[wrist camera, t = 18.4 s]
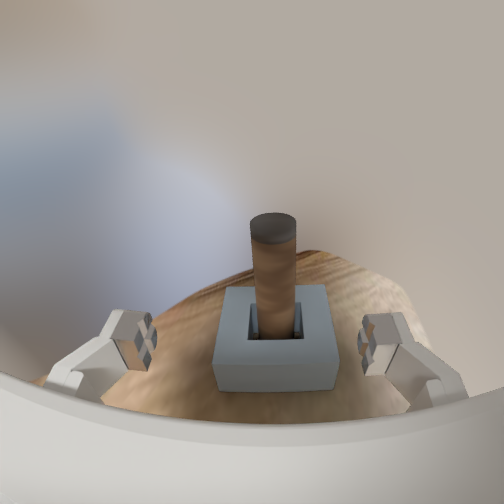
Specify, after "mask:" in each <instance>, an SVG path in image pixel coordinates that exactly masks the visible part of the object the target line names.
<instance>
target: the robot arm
mask: <svg viewBox="0 0 504 504" xmlns="http://www.w3.org/2000/svg"><path fill="white" fill-rule="evenodd" d="M151 322H152V317H151V314H150V313H148V312H141V311H131V310H119V309H115V310H113V311H112V313H111V315H110V316H109V318H108V320H107V322H106V324H105V326H104V327H103V329H102V331H101V333H100V335H99V337H94V338H93V339H91V340H90V341H89V342H87V343H85V344H84V345H83V346H81V347H80V348H78V349H77V350H75V351H74V352H72V353H71V354H69V355H68V356H66V357H65V358H63V359H62V360H60V361H59V362H58V363H56V364H55V365H54V366H53V368H52V370H51V372H50V374H49V376H48V378H47V380H46V381H45V383H44V385H43V387H41V386H38V385H36V384H33V383H30V382H27V381H25V380H22V379H19V378H17V377H14V376H12V375H9V374H7V373H4V372H2V371H0V504H504V387H502V388H499V389H496V390H493V391H490V392H487V393H484V394H480V395H477V396H474V397H470V398H469V396H468V394H467V391H466V389H465V386H464V384H463V382H462V379H461V377H460V374H459V373H458V372H457V371H455V370H454V369H453V368H451V367H450V366H449V365H448V364H446V363H445V362H444V361H442V360H441V359H440V358H439V357H437V356H436V355H435V354H433V353H432V352H431V351H429V350H428V349H427V348H426V347H424V346H423V345H422V344H420V343H419V342H415V341H414V338H413V336H412V334H411V331H410V329H409V327H408V324H407V322H406V320H405V318H404V315H403V314H402V313H401V312H397V313H384V314H367V315H365V316H364V317H363V320H362V324H363V328H362V329H360V331H359V334H358V350H359V354H360V355H362V356H363V360H362V362H361V363H362V367H363V371H364V375H365V376H373V375H385V376H386V378H387V379H388V380H389V381H390V382H391V383H392V384H393V385H394V386H395V387H396V389H397V390H398V391H399V392H400V393H401V394H402V395H403V396H404V397H405V398H406V399H407V401H408V402H409V403H410V404H411V406H410V407H409V408H408V410H407V411H406V413H401V414H395V415H388V416H382V417H375V418H367V419H358V420H349V421H338V422H324V423H305V424H246V423H226V422H212V421H201V420H191V419H183V418H175V417H168V416H161V415H155V414H149V413H143V412H137V411H132V410H127V409H122V408H117V407H113V406H108V405H105V404H104V402H103V401H102V400H101V398H100V397H101V396H102V395H103V394H104V393H105V392H106V391H107V390H108V389H110V388H111V387H112V386H113V385H114V384H115V383H116V382H117V381H118V380H119V379H120V378H121V377H122V376H123V375H124V374H125V373H126V372H127V371H128V369H129V370H137V371H148V368H149V365H150V362H151V359H152V358H151V356H150V353H152V352H153V351H154V350H155V348H156V345H157V332H156V329H155V327H154V326H153V325H152V324H151Z"/></svg>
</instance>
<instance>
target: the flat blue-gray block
mask: <svg viewBox="0 0 504 504" xmlns="http://www.w3.org/2000/svg"><path fill="white" fill-rule="evenodd" d="M294 332H299V335H300V339H291V340H253V333H258V322H257V309H256V296H255V286H253V287H226V292H225V297H224V302H223V307H222V312H221V318H220V323H219V328H218V333H217V338H216V343H215V349H214V354H213V359H212V367H213V371H214V375H215V378H216V382H217V385H218V389H219V391H224V392H300V391H319V390H333V389H334V385H335V381H336V377H337V372H338V368H339V364H340V359H339V353H338V348H337V343H336V337H335V332H334V327H333V322H332V317H331V312H330V308H329V303H328V298H327V294H326V289H325V285H324V284H322V285H295V321H294Z"/></svg>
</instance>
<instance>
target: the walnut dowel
mask: <svg viewBox="0 0 504 504" xmlns="http://www.w3.org/2000/svg"><path fill="white" fill-rule="evenodd" d="M250 231H251V243H252V254H253V255H252V257H253V270H254V283H255V296H256V309H257V322H258V335H259V340H291V339H294V321H295V285H296V220H295V218H294V217H292V216H290V215H287V214H284V213H265V214H261V215H258V216H256V217H254V218H253V219H252V220H251V221H250Z"/></svg>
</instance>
